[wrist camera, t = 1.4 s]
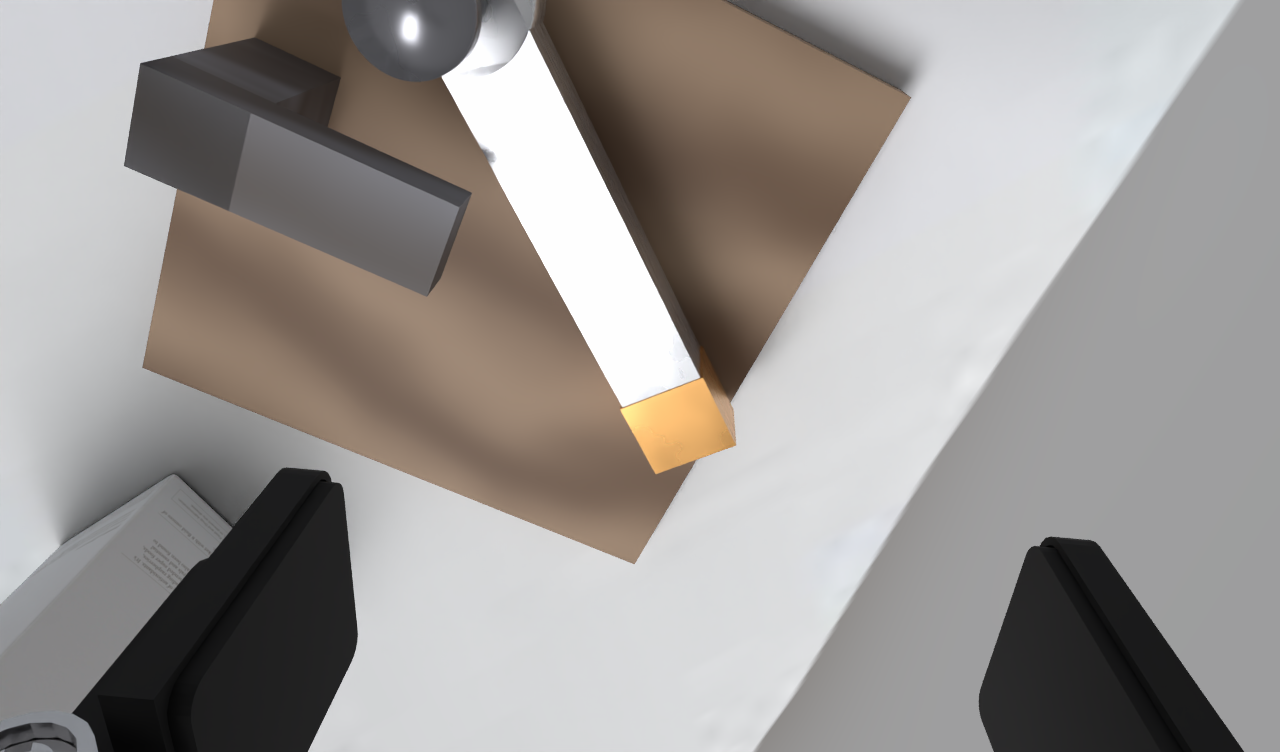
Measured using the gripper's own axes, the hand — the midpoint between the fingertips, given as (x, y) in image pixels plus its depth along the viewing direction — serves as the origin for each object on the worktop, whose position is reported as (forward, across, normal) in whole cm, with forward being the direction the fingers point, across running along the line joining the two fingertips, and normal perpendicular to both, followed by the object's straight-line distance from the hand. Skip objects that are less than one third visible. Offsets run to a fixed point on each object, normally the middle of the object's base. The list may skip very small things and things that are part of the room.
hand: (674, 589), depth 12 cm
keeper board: (+22, +7, +2) cm, 23 cm away
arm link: (+20, +3, 0) cm, 20 cm away
